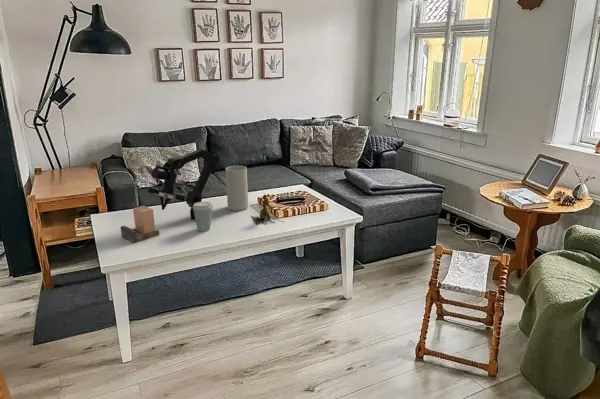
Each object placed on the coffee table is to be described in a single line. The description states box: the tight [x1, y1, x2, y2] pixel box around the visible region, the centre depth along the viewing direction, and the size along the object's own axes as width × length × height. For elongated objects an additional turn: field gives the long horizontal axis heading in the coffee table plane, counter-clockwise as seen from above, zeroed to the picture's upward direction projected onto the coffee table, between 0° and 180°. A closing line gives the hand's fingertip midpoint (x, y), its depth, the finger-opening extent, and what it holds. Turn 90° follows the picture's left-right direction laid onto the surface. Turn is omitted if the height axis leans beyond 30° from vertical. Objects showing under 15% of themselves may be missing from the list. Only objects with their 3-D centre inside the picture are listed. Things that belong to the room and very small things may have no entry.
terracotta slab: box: [132, 205, 156, 234], centre depth 233 cm, size 6×9×12 cm, turn 49°
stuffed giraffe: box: [251, 193, 285, 226], centre depth 256 cm, size 16×18×16 cm
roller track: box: [120, 225, 160, 244], centre depth 233 cm, size 14×12×6 cm
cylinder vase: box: [225, 165, 249, 212], centre depth 271 cm, size 12×12×25 cm
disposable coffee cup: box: [193, 201, 214, 232], centre depth 240 cm, size 11×11×15 cm
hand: (162, 209), depth 241 cm, fingers closed
